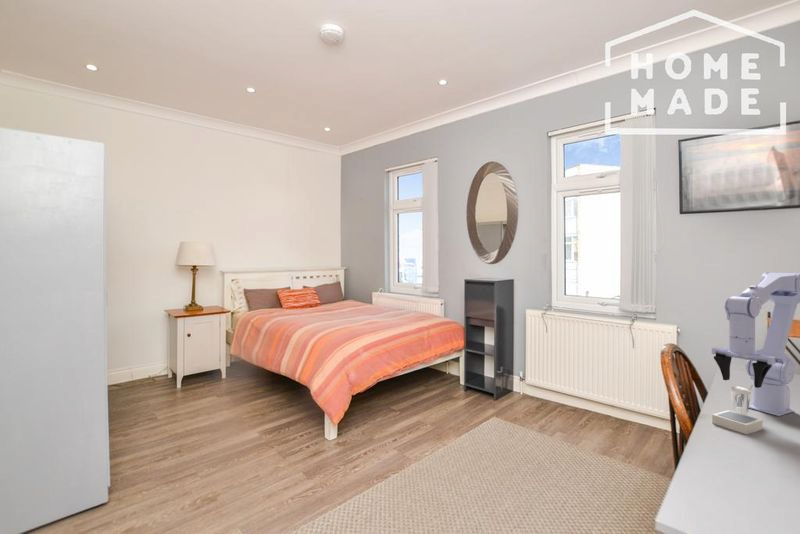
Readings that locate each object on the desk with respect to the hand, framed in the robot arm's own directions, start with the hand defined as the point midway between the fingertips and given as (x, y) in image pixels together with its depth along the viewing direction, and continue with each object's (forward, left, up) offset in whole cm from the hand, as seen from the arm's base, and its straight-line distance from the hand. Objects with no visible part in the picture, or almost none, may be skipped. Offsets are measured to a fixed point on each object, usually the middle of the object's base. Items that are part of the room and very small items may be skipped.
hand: (741, 383), depth 114 cm
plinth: (+8, +2, -10) cm, 13 cm away
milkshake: (0, 0, -11) cm, 11 cm away
